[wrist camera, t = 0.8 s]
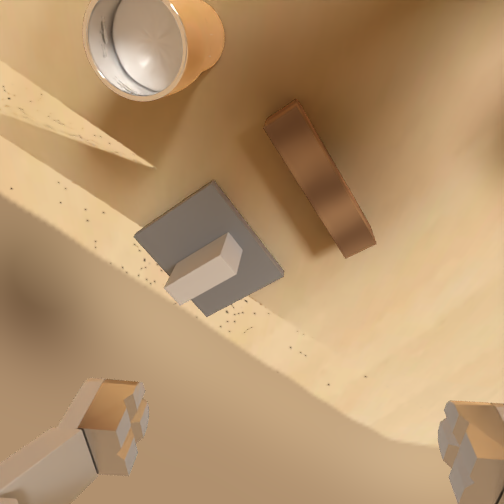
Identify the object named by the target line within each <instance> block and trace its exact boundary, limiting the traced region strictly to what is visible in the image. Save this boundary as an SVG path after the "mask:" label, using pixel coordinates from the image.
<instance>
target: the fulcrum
mask: <svg viewBox="0 0 504 504" xmlns="http://www.w3.org/2000/svg"><path fill="white" fill-rule="evenodd" d="M134 238H135V239H136V240H137V241H138V242H139V244H140V245H141V246H142V247H143V248H144V249H145V250H146V251H147V252H148V253H149V254H150V256H151V257H152V258H153V259H154V260H155V261H156V262H157V263H158V264H159V265H160V267H161V268H162V269H163V270H164V271H165V272H166V273H167V274H168V275H169V276H170V277H169V279H168V281H167V283H166V285H165V287H164V289H165V290H166V291H167V292H168V293H169V294H170V295H171V296H172V297H173V299H174V300H175V301H176V302H177V303H178V304H179V305H182V304H184V303H186V302H187V301H189V300H192V301H193V303H194V304H195V305H196V306H197V307H198V308H199V309H200V310H201V311H202V312H203V313H204V315H205V316H206V317H208V316H210V315H211V314H213V313H215V312H217V311H219V310H221V309H223V308H225V307H227V306H229V305H231V304H232V303H234V302H236V301H238V300H240V299H242V298H244V297H246V296H248V295H250V294H251V293H253V292H255V291H257V290H259V289H261V288H263V287H265V286H267V285H269V284H271V283H272V282H274V281H276V280H278V279H280V278H282V277H284V271H283V269H282V268H281V267H280V265H279V264H278V263H277V262H276V260H275V259H274V258H273V256H272V255H271V254H270V252H269V251H268V250H267V249H266V247H265V246H264V245H263V243H262V242H261V241H260V239H259V238H258V237H257V235H256V234H255V233H254V232H253V230H252V229H251V228H250V226H249V225H248V224H247V222H246V221H245V220H244V219H243V217H242V216H241V215H240V213H239V212H238V211H237V209H236V208H235V207H234V206H233V204H232V203H231V202H230V200H229V199H228V198H227V196H226V195H225V194H224V193H223V191H222V190H221V189H220V187H219V186H218V185H217V183H216V182H215V181H214V180H213V181H211V182H210V183H208V184H207V185H205V186H204V187H202V188H201V189H199V190H198V191H197V192H195V193H194V194H192V195H191V196H189V197H188V198H186V199H185V200H183V201H182V202H180V203H179V204H178V205H176V206H175V207H173V208H172V209H170V210H169V211H167V212H166V213H164V214H163V215H161V216H160V217H158V218H157V219H156V220H154V221H153V222H151V223H150V224H148V225H147V226H145V227H144V228H142V229H141V230H139V231H138V232H137V233H136V234H135V235H134Z"/></svg>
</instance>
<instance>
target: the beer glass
mask: <svg viewBox="0 0 504 504" xmlns="http://www.w3.org/2000/svg"><path fill="white" fill-rule="evenodd" d="M82 34H83V44H84V48H85V52H86V55H87V58H88V60H89V63H90V65H91V67H92V68H93V70H94V72H95V73H96V75H97V76H98V77H99V79H100V80H101V81H102V82H103V83H104V84H105V85H106V86H107V87H108V88H109V89H111V90H112V91H113V92H115V93H116V94H118V95H120V96H122V97H124V98H127V99H130V100H134V101H143V102H144V101H153V100H156V99H159V98H162V97H166V96H169V95H172V94H175V93H177V92H179V91H181V90H183V89H185V88H186V87H187V86H189V85H190V84H191V83H193V82H194V81H195V80H196V79H197V77H198V76H199V75H200V73H201V72H203V71H206V70H208V69H209V68H211V67H212V66H213V65H214V64H215V63H216V62H217V61H218V60H219V58H220V56H221V54H222V51H223V48H224V41H225V35H224V28H223V25H222V22H221V20H220V18H219V16H218V14H217V13H216V12H215V10H214V9H213V8H212V7H211V6H210V5H208V4H207V3H206V2H204V1H202V0H91V1H90V3H89V4H88V7H87V9H86V12H85V15H84V20H83V28H82Z"/></svg>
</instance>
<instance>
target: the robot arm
mask: <svg viewBox="0 0 504 504" xmlns="http://www.w3.org/2000/svg"><path fill="white" fill-rule="evenodd" d="M144 393H145V389H144V385H143V383H142V382H135V381H124V380H113V379H99V378H88V379H87V380H86V381H85V382H84V383H83V385H82V386H81V388H80V390H79V391H78V393H77V395H76V396H75V398H74V400H73V401H72V403H71V405H70V406H69V408H68V410H67V411H66V413H65V414H64V416H63V418H62V419H61V421H60V423H59V424H58V426H57V427H51V428H50V429H48V430H47V431H45V432H44V433H43V434H41V435H40V436H38V437H37V438H35V439H34V440H32V441H31V442H30V443H28V444H27V445H25V446H24V447H22V448H21V449H20V450H18V451H17V452H15V453H14V454H12V455H11V456H9V457H8V458H7V459H5V460H4V461H2V462H1V463H0V504H71V503H72V502H73V501H74V500H75V499H76V497H78V496H79V495H80V494H81V493H82V492H83V491H84V490H85V489H86V488H87V486H89V485H90V484H91V482H93V481H94V480H95V478H96V477H97V476H98V475H97V474H102V475H103V474H104V475H120V476H129V474H130V471H131V469H132V467H133V464H134V461H135V459H136V456H137V453H138V451H137V447H136V443H137V442H139V441H140V440H141V439H142V438H143V437H144V434H145V432H146V429H147V424H148V419H149V407H148V403H147V401H146V400H145V399H143V395H144ZM444 411H445V414H446V417H447V418H446V419H444V420H443V421H441V422H440V426H439V430H438V443H439V448H440V452H441V455H442V458H443V461H445V462H446V463H447V464H448V465H449V466H450V467H451V468H452V470H451V473H450V475H449V479H450V482H451V485H452V488H453V491H454V493H455V496H456V499H457V502H458V504H504V404H500V403H488V402H468V401H449V402H448V403H447V404H446V406H445V409H444Z"/></svg>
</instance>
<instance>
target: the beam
mask: <svg viewBox="0 0 504 504" xmlns="http://www.w3.org/2000/svg"><path fill="white" fill-rule="evenodd" d="M264 130H265V132H266V133H267V135H268V136H269V138H270V140H271V141H272V143H273V144H274V146H275V148H276V149H277V151H278V152H279V154H280V155H281V157H282V159H283V160H284V162H285V163H286V165H287V167H288V168H289V170H290V171H291V173H292V174H293V176H294V178H295V179H296V181H297V182H298V184H299V186H300V187H301V189H302V190H303V192H304V194H305V195H306V197H307V198H308V200H309V201H310V203H311V205H312V206H313V208H314V209H315V211H316V213H317V214H318V216H319V217H320V219H321V221H322V222H323V224H324V225H325V227H326V228H327V230H328V232H329V233H330V235H331V236H332V238H333V240H334V241H335V243H336V244H337V246H338V248H339V249H340V251H341V252H342V254H343V255H344V257H345V259H346V258H348V257H350V256H352V255H354V254H356V253H358V252H360V251H363V250H365V249H367V248H369V247H371V246H373V245H375V244H376V241H375V238H374V235H373V232H372V229H371V226H370V224H369V223H368V221H367V219H366V217H365V216H364V214H363V212H362V210H361V209H360V207H359V205H358V204H357V202H356V200H355V198H354V197H353V195H352V193H351V191H350V190H349V188H348V186H347V184H346V183H345V181H344V179H343V178H342V176H341V174H340V172H339V171H338V169H337V167H336V165H335V164H334V162H333V160H332V158H331V157H330V155H329V153H328V152H327V150H326V148H325V146H324V145H323V143H322V141H321V139H320V138H319V136H318V134H317V132H316V131H315V129H314V127H313V125H312V124H311V122H310V120H309V119H308V117H307V115H306V113H305V112H304V110H303V108H302V106H301V105H300V103H299V101H298V99H295V100H294V101H292V102H291V103H289V104H288V105H286V106H285V107H283V108H282V109H280V110H279V111H277V112H276V113H274V114H273V115H271V116H270V117H268V118H267V119H266V122H265V125H264Z"/></svg>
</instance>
